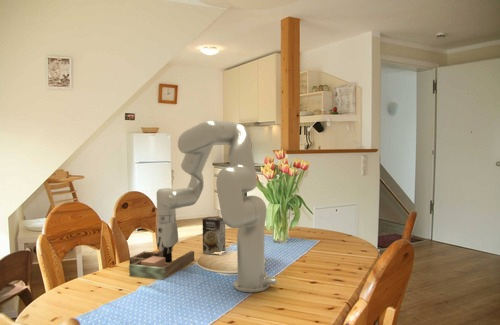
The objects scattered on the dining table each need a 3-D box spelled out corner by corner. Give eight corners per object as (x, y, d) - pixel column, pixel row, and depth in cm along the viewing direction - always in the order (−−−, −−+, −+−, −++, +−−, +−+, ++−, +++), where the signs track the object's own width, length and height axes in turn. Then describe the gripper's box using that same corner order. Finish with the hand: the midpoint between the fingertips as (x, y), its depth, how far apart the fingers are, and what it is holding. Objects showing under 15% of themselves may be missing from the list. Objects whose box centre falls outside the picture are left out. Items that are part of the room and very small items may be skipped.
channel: (194, 260, 160) (194, 251, 160) (163, 279, 137) (162, 268, 137) (153, 256, 167) (152, 247, 167) (116, 274, 144) (116, 263, 144)
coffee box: (202, 253, 170) (201, 218, 169) (209, 250, 176) (208, 216, 175) (220, 255, 166) (219, 220, 166) (226, 251, 172) (225, 217, 172)
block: (165, 269, 149) (165, 257, 148) (154, 275, 142) (154, 263, 142) (153, 268, 151) (153, 256, 151) (141, 274, 144) (141, 261, 144)
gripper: (164, 222, 145) (165, 268, 145) (183, 215, 159) (184, 257, 160) (148, 221, 147) (149, 266, 148) (168, 214, 161) (169, 256, 162)
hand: (167, 261), depth 154 cm, fingers closed
